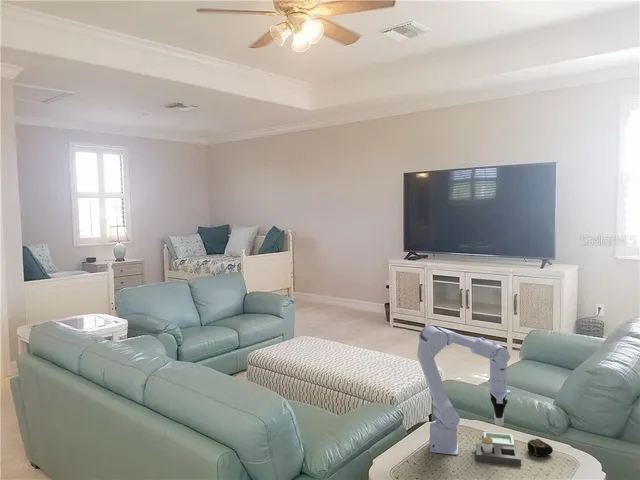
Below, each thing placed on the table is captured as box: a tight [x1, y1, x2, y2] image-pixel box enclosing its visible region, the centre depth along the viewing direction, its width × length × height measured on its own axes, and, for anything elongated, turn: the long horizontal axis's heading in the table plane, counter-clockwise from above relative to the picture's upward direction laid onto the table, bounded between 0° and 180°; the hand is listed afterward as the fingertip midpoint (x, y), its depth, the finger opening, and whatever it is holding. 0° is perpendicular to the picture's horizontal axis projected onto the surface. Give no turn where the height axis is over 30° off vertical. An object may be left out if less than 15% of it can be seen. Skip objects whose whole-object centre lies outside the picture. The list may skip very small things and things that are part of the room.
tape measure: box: [527, 438, 554, 457], centre depth 166 cm, size 7×7×4 cm
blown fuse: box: [493, 411, 505, 426], centre depth 173 cm, size 3×3×6 cm
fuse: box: [481, 436, 492, 454], centre depth 165 cm, size 3×3×6 cm
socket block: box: [475, 443, 522, 467], centre depth 164 cm, size 14×8×2 cm, turn 73°
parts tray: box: [483, 431, 515, 447], centre depth 174 cm, size 10×8×2 cm
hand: (498, 415), depth 174 cm, fingers closed on blown fuse, 3 cm apart
